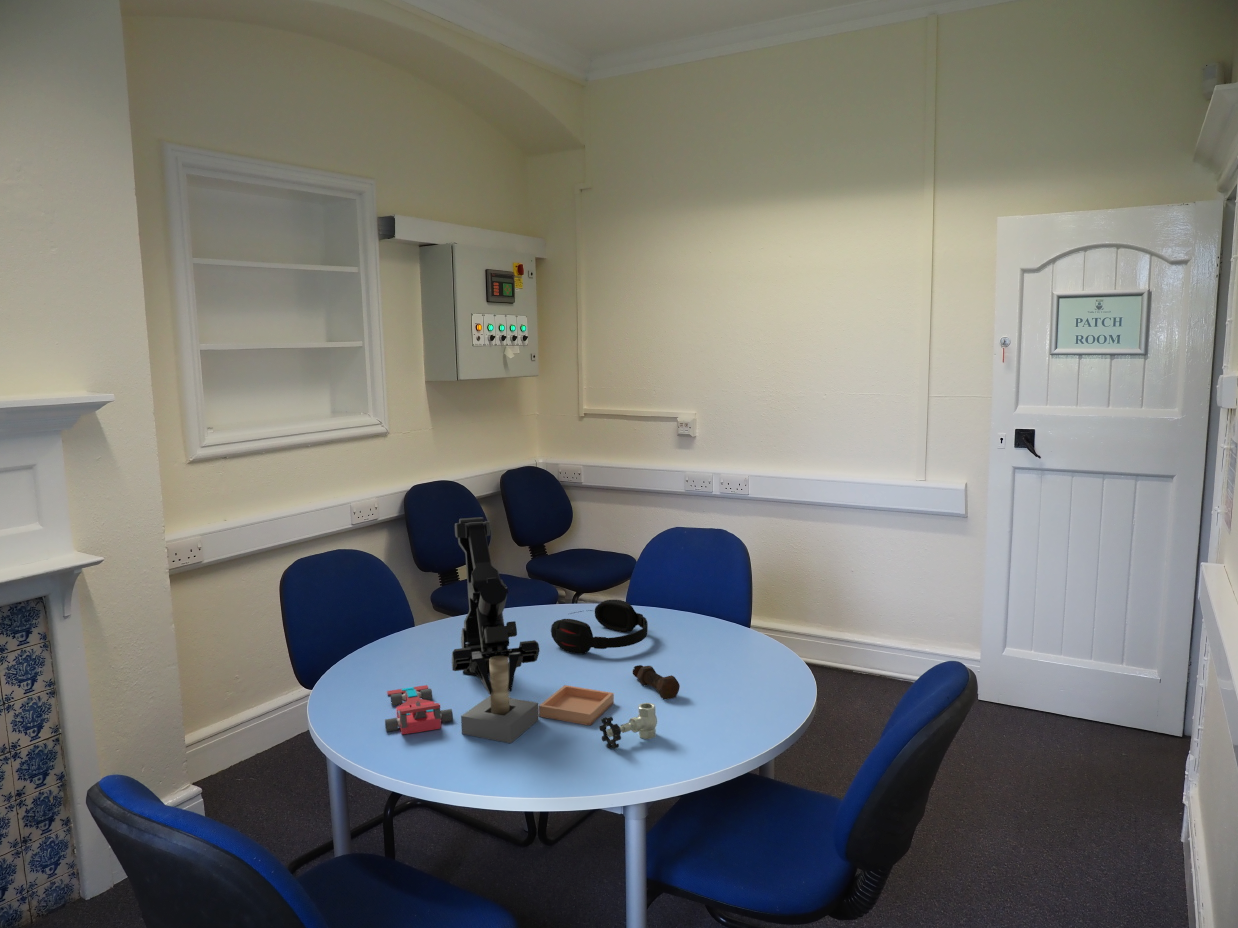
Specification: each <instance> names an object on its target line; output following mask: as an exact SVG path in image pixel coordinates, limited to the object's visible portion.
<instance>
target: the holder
mask: <svg viewBox="0 0 1238 928" xmlns="http://www.w3.org/2000/svg"><path fill="white" fill-rule="evenodd" d="M509 706H510V712H508V713H507V714H506V715H498V714H493V713H491V698H490V695H488V696H487V697H486V698H485V699H483V700H482V701H480V702H479V703H478V704H476V705H475V706H473V707H471V708H470V709H469V710H468V711H465V713H464V712H463V714H462V715H461V716H460V720H461V721H460V723H461V724H460V725H461V734H462V735H467V736H471V737H477V738H482V739H487V740H491V741H497V742H502V743H507V744H512V743H513V742H514V741H516V740H517V739H518V738H519V737H520V736H521V735H523V734H524V733H525V732H526V731H527V730H528V729H530V728H531V727H532V726H534V724H535V725H536V723H538V721H539V702H536V701H535V702H534V701H529V700H524V699H518V698H512V697H509Z"/></svg>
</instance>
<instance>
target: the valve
mask: <svg viewBox="0 0 1238 928" xmlns="http://www.w3.org/2000/svg"><path fill="white" fill-rule="evenodd" d="M600 721H601V723H602V725H599V728H598V729H599V731H600V732H602V736H601V741H602V742H606V747H607V749H608V750H609V749H617V748H619V747H620V744H619V743H617V741H621V740H622V736H621V734H622V733H623V734H624V733H628V732H630V731H631V732H632V733H638V735H639V738H640V739H644V740H651V739H655V738H656V736H657V735H656V727H657V724H658V718H657V715H656V704H654V703H651V702H642V703H640V704H638V715H637V717H636V716H634V717H631V718H629V721H628V722H626V723H623V724H620V726H619V724H618V723H615V724H613V723H612V721H614V718H613V716H609V717H606V716H605V717H601V720H600ZM607 727H609V728H607ZM611 737H612V739H611Z"/></svg>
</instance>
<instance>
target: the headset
mask: <svg viewBox="0 0 1238 928" xmlns="http://www.w3.org/2000/svg"><path fill="white" fill-rule="evenodd" d="M581 612H583V610H582V611H581V610H580V611H578V613H581ZM587 612H593V609H592V610H587ZM575 613H577V611H576V612H570V613H569V615H571V614H575ZM594 618H595V619H596V620H597V622H598V623H599V624H600V625H601V626H602V627H604V628H607V629H608V630H611V631H614V632H619V633H623V634H624V633H628V634H626V635H620V636H615V637H614V636H613V637H606V636H594V634H593V630H592V629H591V626H590V625H589V624H588V623H587V622H584V621H581V620H577V619H573V618H563V619H558V620H555V621H554V622H553V623H552V624H551V627H550V633H551V638H552V639H553V641H554V643H555V644H556V645H557V646H558V647H559V648H560V649H561V650H562V651H564V652H566V653H571V654H575V655H576V654H577V655H585V654H586V653H588V652H589V651H590V650H591V648H594V649H595V650H597V649H598V650H605V649H612V648H623V647H624V648H625V647H629V646H634V645H636V644H638V643H640V642H643V640H645V639H646V638H647V635H648V628H649V627H648V623H649V622H648V620H647V618H646V617H645V616H644V615H643V614H641V613H638V612H636V610H635V609H634V607H633V606H632V604H631V603H629V602H627V601H624V600H621V599H606V600H604V601H601V602H600V603H598V604H597V605H596V606H595V608H594ZM637 626H639V627H640V628H641V629H639V630H636V631H635V632H632V631H633V630H634V629H635V628H636V627H637ZM630 632H632V633H630Z"/></svg>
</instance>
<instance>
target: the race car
mask: <svg viewBox="0 0 1238 928" xmlns="http://www.w3.org/2000/svg"><path fill="white" fill-rule="evenodd" d="M386 692H387V696H388V695H389V696H390V703H391V702H392V703H391V706H392V705H395V706H396V717H393V718H392V717H391V718H387V719H384V727H385V731H386V733H389V731H390V732H395V730H396V731H398V730H399V729H400V732H401V735H407V734H408V735H409V734H414V733H420V732H422V733H423V732H428V731H432V730H433V731H434V730H438V729H439V730H440V729H442V723H443V724H444V723H449V722H450V723H451V722H453V721H454V714H453V710H452V708H449V709H443V710H441V704H440V703H439V702H436V703H435V701H432V700H433V691H432V688H429V686H428V684H426V685H419V686H418V685H417V686H411V687H410V686H409V687H404V688H400V689H399V688H398V689H392V690H387V691H386ZM402 693H403V694H402ZM421 698H422V699H421ZM399 704H401V705H399ZM398 728H399V729H398Z"/></svg>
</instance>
